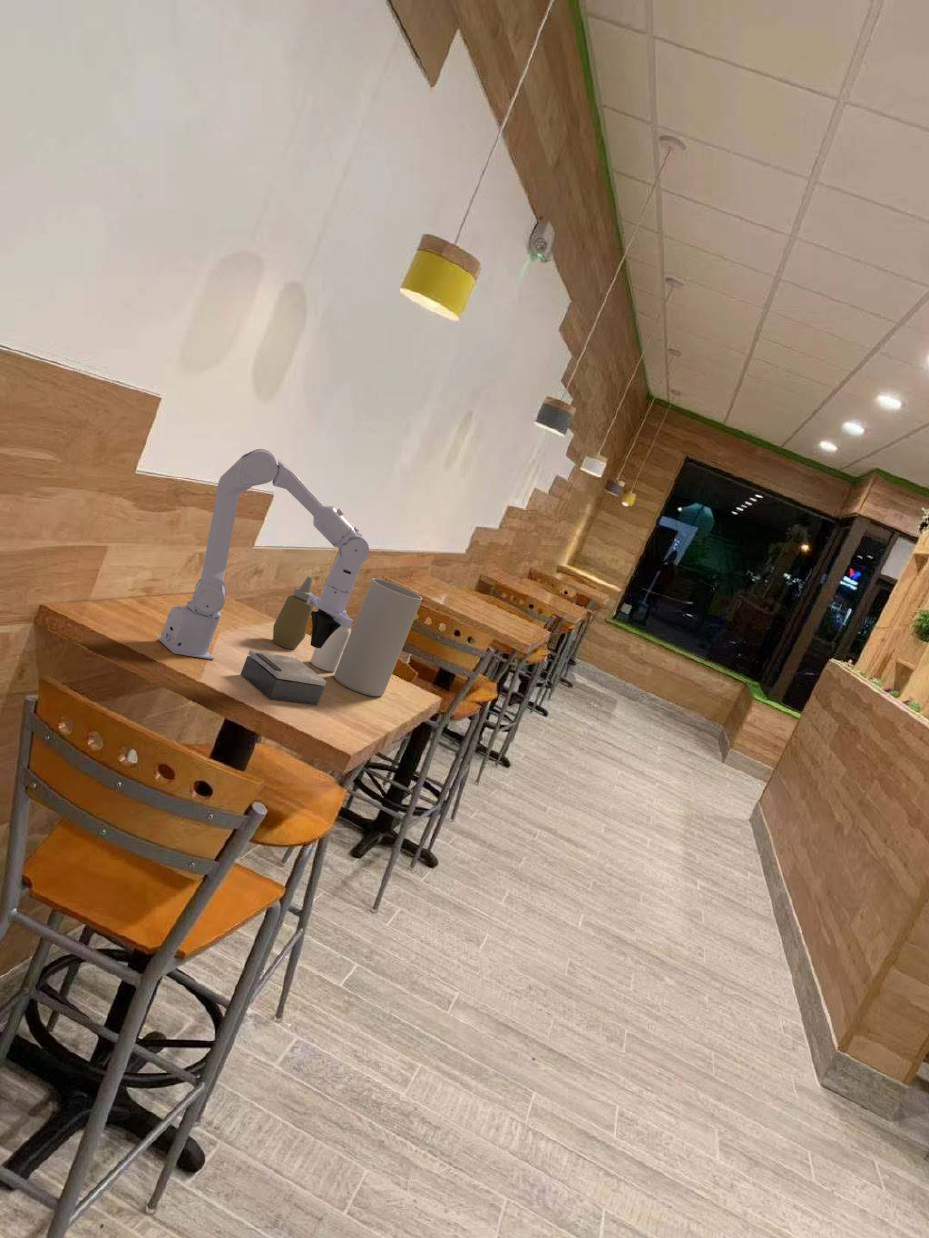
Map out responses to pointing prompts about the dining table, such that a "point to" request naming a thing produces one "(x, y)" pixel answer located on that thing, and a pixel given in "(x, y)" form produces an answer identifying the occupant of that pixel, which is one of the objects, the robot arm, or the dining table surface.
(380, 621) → the cylinder vase
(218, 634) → the dining table surface
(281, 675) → the lid
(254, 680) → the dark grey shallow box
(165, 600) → the dining table surface
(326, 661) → the can
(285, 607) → the squeeze bottle
